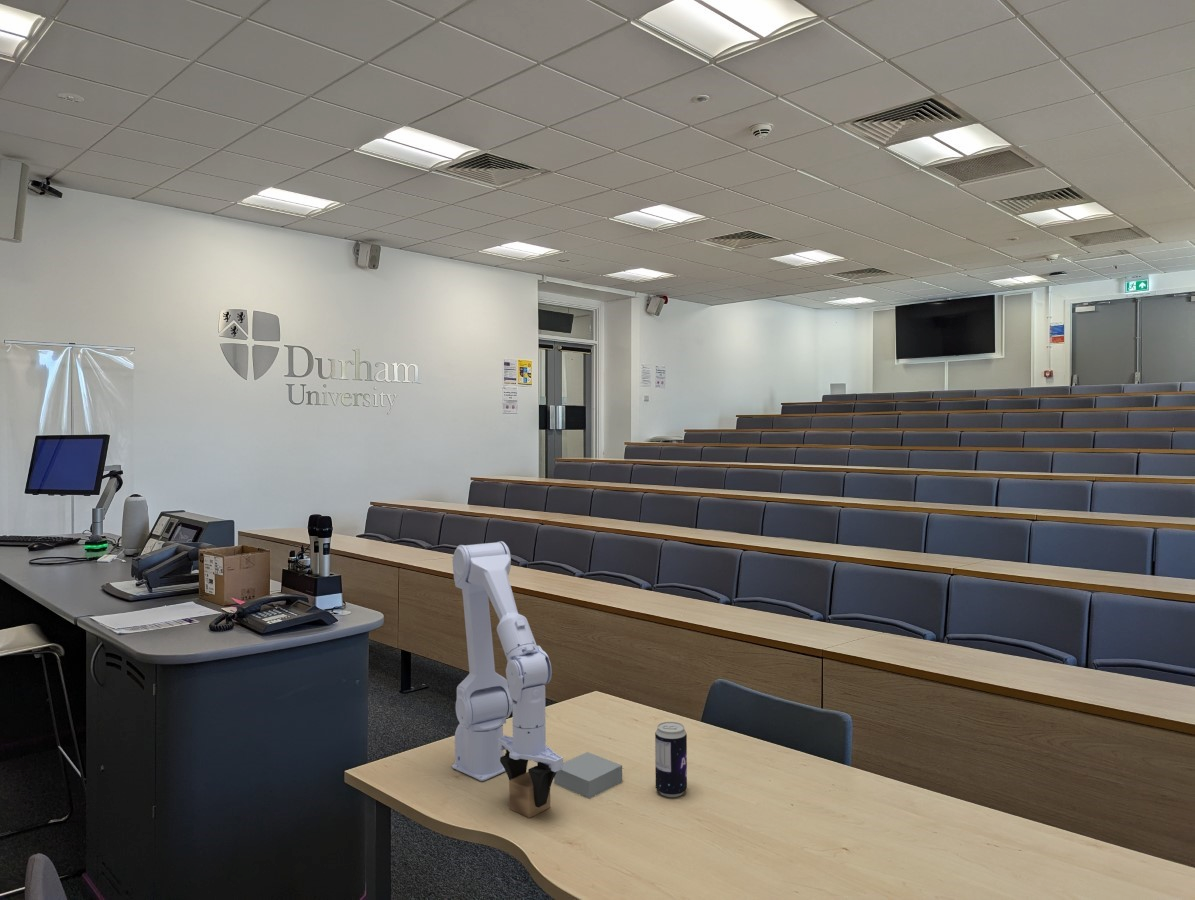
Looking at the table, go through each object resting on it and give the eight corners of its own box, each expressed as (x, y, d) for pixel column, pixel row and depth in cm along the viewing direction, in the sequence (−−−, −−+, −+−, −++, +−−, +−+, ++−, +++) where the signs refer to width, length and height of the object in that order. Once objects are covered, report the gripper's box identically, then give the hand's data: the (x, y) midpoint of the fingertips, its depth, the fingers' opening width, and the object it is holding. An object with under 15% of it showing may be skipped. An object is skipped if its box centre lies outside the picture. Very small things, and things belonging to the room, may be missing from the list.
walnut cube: (509, 808, 136) (509, 780, 136) (530, 798, 140) (530, 770, 140) (529, 818, 133) (529, 789, 133) (550, 807, 137) (550, 778, 136)
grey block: (554, 785, 146) (554, 766, 146) (587, 769, 153) (587, 751, 152) (589, 800, 140) (589, 781, 140) (622, 783, 146) (622, 765, 146)
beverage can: (685, 800, 139) (685, 733, 138) (653, 797, 140) (653, 731, 140) (688, 786, 144) (687, 721, 144) (657, 783, 145) (657, 719, 145)
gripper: (484, 719, 138) (485, 795, 138) (541, 740, 128) (542, 822, 129) (513, 708, 143) (514, 781, 143) (571, 727, 133) (572, 806, 134)
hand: (529, 799), depth 136 cm, fingers closed on walnut cube, 5 cm apart
